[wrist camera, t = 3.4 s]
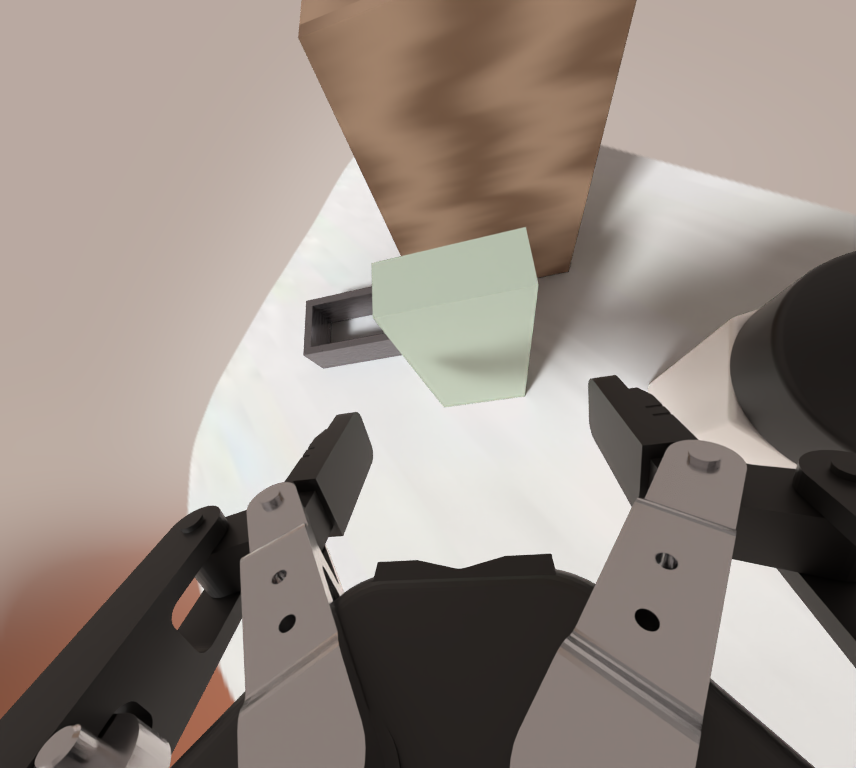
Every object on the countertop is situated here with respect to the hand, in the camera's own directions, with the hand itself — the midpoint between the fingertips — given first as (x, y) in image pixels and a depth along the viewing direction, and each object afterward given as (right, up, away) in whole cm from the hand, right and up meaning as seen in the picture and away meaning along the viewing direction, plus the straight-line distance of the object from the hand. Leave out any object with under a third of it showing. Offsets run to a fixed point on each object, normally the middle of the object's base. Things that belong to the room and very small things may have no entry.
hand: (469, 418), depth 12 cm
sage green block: (+3, +1, +13) cm, 14 cm away
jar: (+17, -2, +9) cm, 19 cm away
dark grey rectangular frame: (-7, +6, +17) cm, 19 cm away
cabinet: (+4, +13, +17) cm, 22 cm away
